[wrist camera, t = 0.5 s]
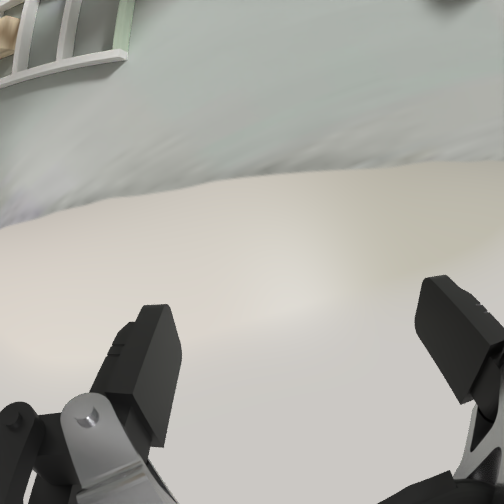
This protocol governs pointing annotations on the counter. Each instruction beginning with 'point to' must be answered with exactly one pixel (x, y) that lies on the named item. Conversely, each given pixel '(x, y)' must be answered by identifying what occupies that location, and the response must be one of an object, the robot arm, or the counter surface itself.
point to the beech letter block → (8, 35)
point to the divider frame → (63, 41)
